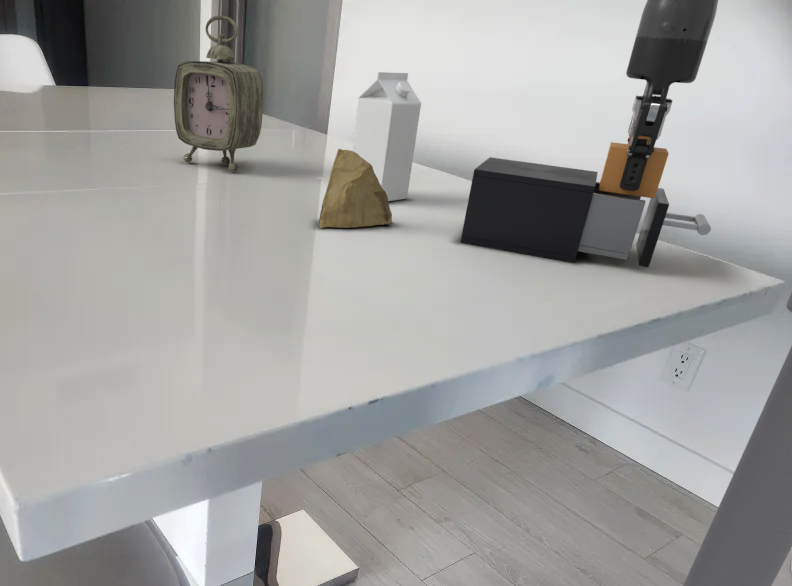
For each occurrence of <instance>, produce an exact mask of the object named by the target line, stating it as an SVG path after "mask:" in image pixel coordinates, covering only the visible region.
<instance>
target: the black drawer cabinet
mask: <svg viewBox="0 0 792 586" xmlns="http://www.w3.org/2000/svg"><path fill="white" fill-rule="evenodd" d="M598 173H599V172H598V171H595V170H587V169H579V168H573V167H565V166H557V165H550V164H542V163H535V162H527V161H520V160H513V159H506V158H499V157H492V156H491V157H488V158H487V159H486V160H484V161H483V162H482V163H480V164H479V165H478V166H477V167H476V168H474V169H473V173H472V174H473V175H472V179H471V185H470V189H469V195H468V200H467V205H466V210H465V215H464V221H463V225H462V232H461V237H460V243H461V244H467V245H472V246H479V247H484V248H489V249H494V250H500V251H506V252H512V253H517V254H523V255H528V256H534V257H539V258H545V259H549V260H550V259H551V260H556V261H562V262H567V263H573V264H575V262H576V258H577V255H578V252H579V251H578V248H579V244H580V241H581V237H582V233H583V230H584V226H585V222H586V219H587V215H588V211H589V208H590V204H591V200H592V197H593V193H594V190H595V185H596V182H597V179H598Z"/></svg>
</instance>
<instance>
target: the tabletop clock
mask: <svg viewBox="0 0 792 586" xmlns="http://www.w3.org/2000/svg"><path fill="white" fill-rule="evenodd" d="M215 21H225V22H228V23H230V24H231V25H232V26H233V28H234V35H233V36H231V37H230V38H225V35H224V34H223V33H218V37H215V36H212V34H210V33H209V26H210V25H211V24H212V23H213V22H215ZM205 34H206V36H207V38H208V39H209V40H211V41H212V42H214V43H217V44H216V45H213V46H211V47H210V48H209V49H208V51H207V53H206V56H205V58H207V59H212V60H217V61H207V60H205V61H204V60H200V61H199V60H187V61H184V62H183V61H182V62H181V63H179V64H178V65H177V69H176V72H175V76H174V86H173V87H174V89H173V113H174V115H173V116H174V125H175V131H176V135H177V138H178V140H180V141H181V142H182V143H184V144H186V145H188V146H191V150H190V151H189V153H185V154H184V155H183V160H184V162H185V163H191V162H192V161H193V155H194V153H195V152H196V151H197V149H201V150H205V151H216V152H217V151H219V152H222V155H223V156H222V158H221V164H222V165H224V166H228V170H229V172H230V173H236V171H237V170H238V165H237V163H236V162H235V153H236V150H237V149H239V150H240V149H245V148H246V149H247V148H251V147H254V146H256V145H257V142H258V140H259V138H260V136H261V131H262V124H263V115H264V82H263V79H262V75H261V73H260V71H259V70H257V69H256V68H255V67H253V66H250V65H247V64H243V63H239V62H233V61H236V56H235V53H234V52H233V50H232V48H230V46H227V45H226V44H230V43H232V42H234V41H235V40H236V39H237V37H238V34H239V29H238V25H237V23H236V22H235V21H234V19H232V18H231V17H229V16H226V15H214V16H212V17H210V18H209V19H208V20H207V22H206V24H205ZM224 60H225V61H224ZM227 151H228V154H229V156H227ZM184 157H187V158H184ZM191 157H192V158H191ZM222 159H223V160H222Z"/></svg>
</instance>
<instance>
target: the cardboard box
mask: <svg viewBox="0 0 792 586" xmlns="http://www.w3.org/2000/svg"><path fill="white" fill-rule="evenodd" d="M629 146H630V144H628V143H622V142H621V143H620V142H613V141H612V142H610V143H609V148H608V152H607V155H606V159H605V162H604V166H603V169H602V174H601V178H600V181H599V182H600V184H599V191H605V192H612V193H619V194H626V195H633V196H640V197H641V198H649V199H651V198H655V196H656V193H657V189H658V188H659V186H660V183H661V179H662V176H663V174H664V170H665V167H666V163H667V160H668V158H669V151H668V149H667V148H665V147H664V148H663V147H657V146H654V148H655V149H654V152H653V153H652V155H651V157H649V160H648V159H647V163H646V166H645V170H644V173H643V176H642V180H641V183H640V186H639V189H638V190H636V191H632V190H625V189H621V188H620V182H621V178H622V175H623V171H624V168H625V164H626V161H627V155H628V154H627V150H628V149H629Z"/></svg>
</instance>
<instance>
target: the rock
mask: <svg viewBox="0 0 792 586" xmlns="http://www.w3.org/2000/svg"><path fill="white" fill-rule="evenodd" d="M389 202H390V201H388V197H387V194H386V192H385V191H384V190H383V188H382V187H381V185H380V183H379V180H378V178H377V177H376V175H375V173H374V170H373V167H372V165H371V164H370V163H368V162H367V161H366V160H364V159H363V158H362V157H360V156H359V155H358V154H357V153H355V152H354V151H353V150H351V149H342V148H338V149H337V152H336V155H335V158H334V161H333V164H332V167H331V171H330V175H329V179H328V183H327V187H326V190H325V194H324V196H323V200H322V203H321V205H322V206H321V209H320V212H319V213H320V214H319V218H318V219H319V221H318V226H319V228H320V229H325V228H338V229H349V228H350V229H351V228H363V227H375V226H383V225H390V224H391V225H392V224H393V213H392V210H391V206H390V203H389Z"/></svg>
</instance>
